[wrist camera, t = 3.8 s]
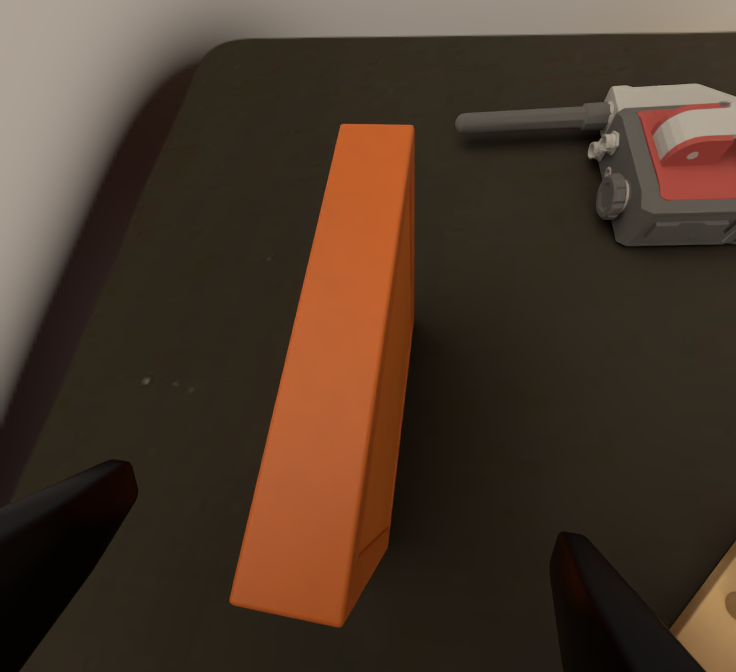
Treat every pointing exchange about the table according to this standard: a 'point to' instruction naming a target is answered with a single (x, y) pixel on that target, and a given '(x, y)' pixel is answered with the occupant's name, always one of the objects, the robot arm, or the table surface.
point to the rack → (712, 619)
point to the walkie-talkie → (650, 159)
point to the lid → (339, 393)
